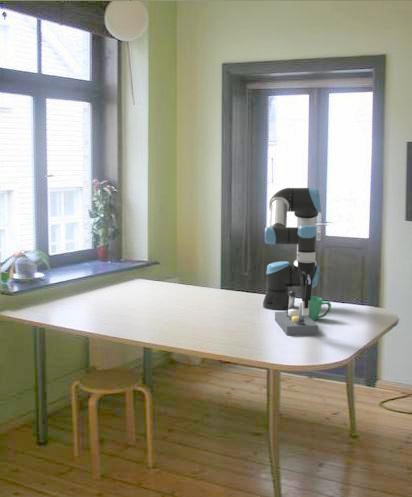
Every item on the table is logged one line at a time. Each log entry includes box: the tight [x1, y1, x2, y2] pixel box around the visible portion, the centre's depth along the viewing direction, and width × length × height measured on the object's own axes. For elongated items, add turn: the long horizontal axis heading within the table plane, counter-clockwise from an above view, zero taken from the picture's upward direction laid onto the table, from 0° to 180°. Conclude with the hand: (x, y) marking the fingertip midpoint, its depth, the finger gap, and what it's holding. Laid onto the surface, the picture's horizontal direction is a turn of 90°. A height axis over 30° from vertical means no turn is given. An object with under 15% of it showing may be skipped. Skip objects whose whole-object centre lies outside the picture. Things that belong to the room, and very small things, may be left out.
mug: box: [308, 296, 332, 321], centre depth 346 cm, size 15×10×10 cm
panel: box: [274, 310, 319, 336], centre depth 332 cm, size 28×14×4 cm, turn 6°
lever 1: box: [287, 290, 297, 311], centre depth 340 cm, size 3×3×11 cm
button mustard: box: [292, 316, 298, 322], centre depth 329 cm, size 5×5×4 cm
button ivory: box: [287, 308, 299, 318], centre depth 336 cm, size 5×5×4 cm
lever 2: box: [298, 300, 304, 323], centre depth 319 cm, size 3×3×11 cm
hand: (305, 314), depth 312 cm, fingers closed
